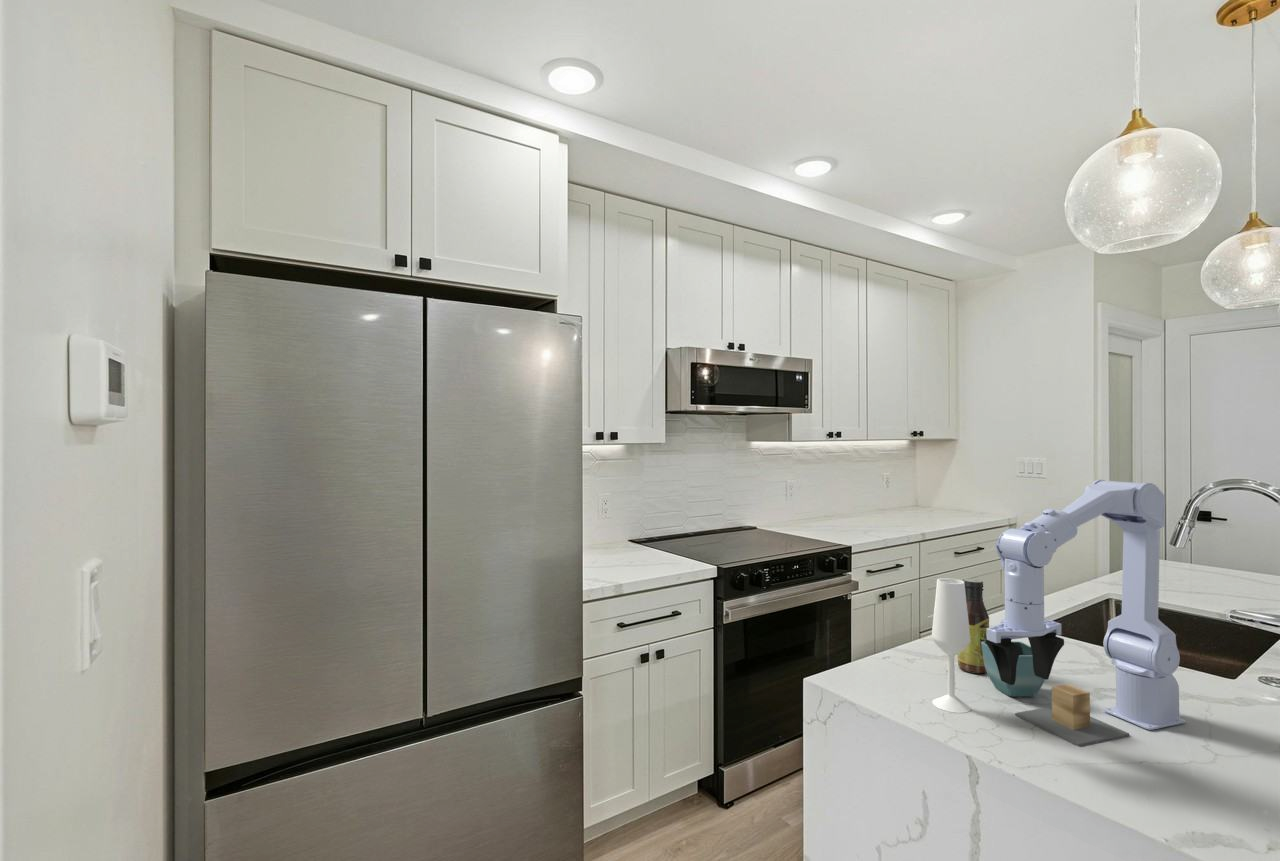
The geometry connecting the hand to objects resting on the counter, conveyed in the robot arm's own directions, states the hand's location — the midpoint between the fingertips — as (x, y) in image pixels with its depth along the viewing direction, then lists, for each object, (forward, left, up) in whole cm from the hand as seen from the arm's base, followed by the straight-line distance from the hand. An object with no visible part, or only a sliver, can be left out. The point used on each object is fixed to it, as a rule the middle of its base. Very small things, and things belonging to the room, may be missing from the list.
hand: (1024, 680), depth 104 cm
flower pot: (-16, -16, -11) cm, 25 cm away
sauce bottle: (-18, -28, -11) cm, 35 cm away
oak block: (-13, -2, -10) cm, 17 cm away
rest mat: (-13, -2, -10) cm, 17 cm away
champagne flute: (+1, -15, -11) cm, 18 cm away
